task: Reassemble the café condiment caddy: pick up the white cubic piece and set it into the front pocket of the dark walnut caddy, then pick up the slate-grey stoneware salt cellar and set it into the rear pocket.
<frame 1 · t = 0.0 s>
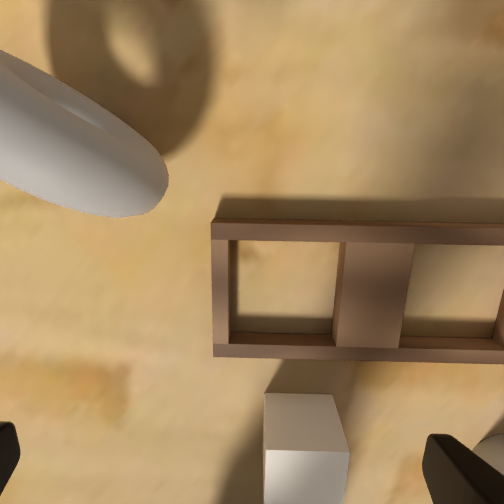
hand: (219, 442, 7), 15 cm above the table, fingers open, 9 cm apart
donut: (113, 141, 20), on the table
white cubic piece: (296, 420, 25), on the table
walnut caddy: (366, 288, 22), on the table
salt cellar: (500, 458, 26), on the table
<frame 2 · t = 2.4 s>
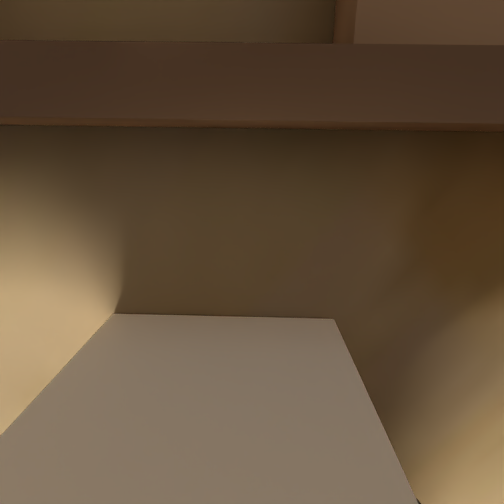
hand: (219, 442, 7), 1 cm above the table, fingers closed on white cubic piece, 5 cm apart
white cubic piece: (223, 407, 8), on the table, touching gripper
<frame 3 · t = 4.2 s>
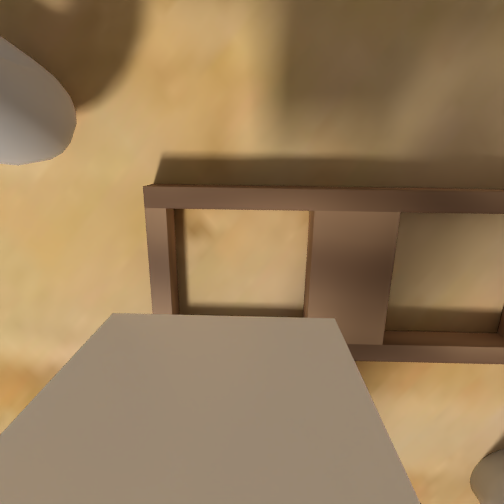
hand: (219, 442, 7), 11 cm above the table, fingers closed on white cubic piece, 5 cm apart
donut: (23, 86, 16), on the table
white cubic piece: (224, 407, 8), point 10 cm above the table, touching gripper
walnut caddy: (343, 271, 18), on the table
when the fingers open (3 cm above the table, at t = 6.0 s): white cubic piece drops 2 cm, resting in walnut caddy.
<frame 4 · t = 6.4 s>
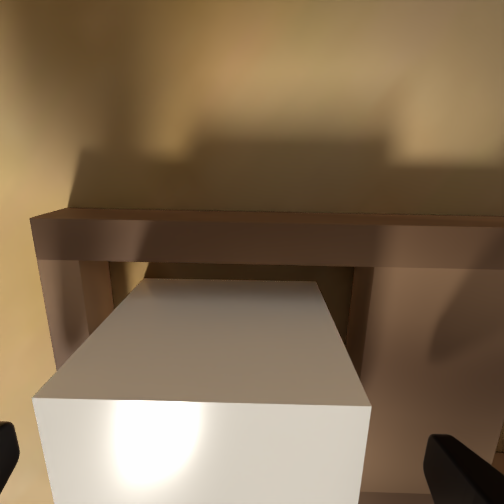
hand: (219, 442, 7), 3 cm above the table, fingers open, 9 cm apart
white cubic piece: (230, 353, 10), resting in walnut caddy
walnut caddy: (409, 359, 10), on the table
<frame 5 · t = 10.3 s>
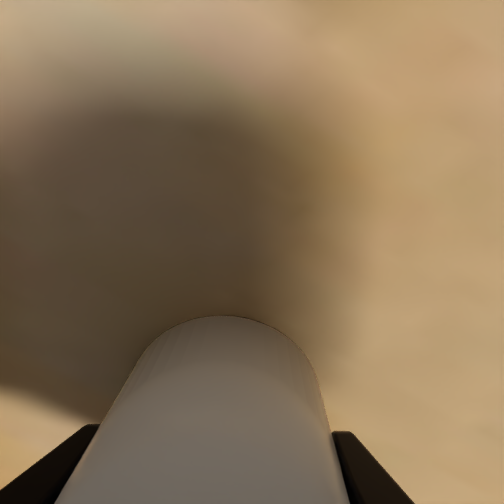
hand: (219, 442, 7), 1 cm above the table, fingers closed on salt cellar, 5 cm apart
salt cellar: (225, 401, 8), on the table, touching gripper
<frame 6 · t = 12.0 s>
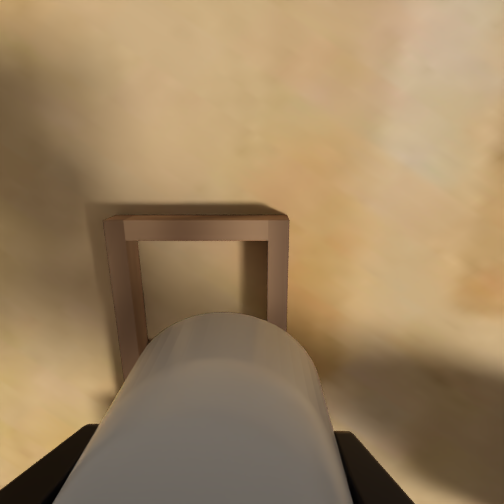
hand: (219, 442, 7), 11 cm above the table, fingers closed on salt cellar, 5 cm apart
walnut caddy: (208, 378, 20), on the table
salt cellar: (226, 398, 8), point 10 cm above the table, touching gripper
when the fingers open (3 cm above the table, at t = 14.1 s): salt cellar drops 2 cm, resting in walnut caddy.
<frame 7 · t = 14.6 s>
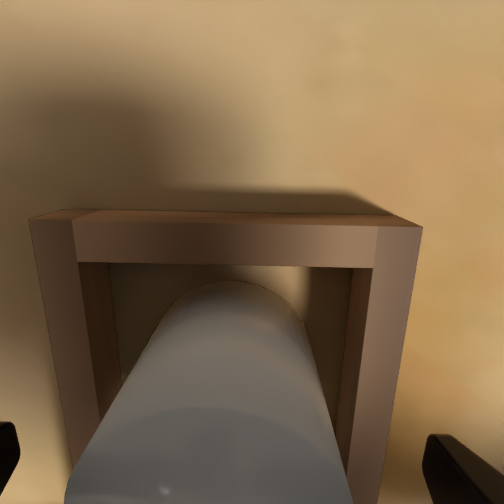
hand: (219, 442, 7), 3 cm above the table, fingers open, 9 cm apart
walnut caddy: (230, 489, 12), on the table
salt cellar: (232, 352, 10), resting in walnut caddy
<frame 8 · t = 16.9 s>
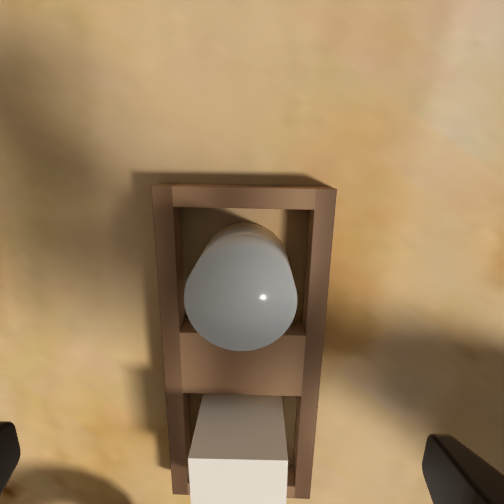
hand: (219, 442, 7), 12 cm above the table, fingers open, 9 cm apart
white cubic piece: (242, 421, 22), resting in walnut caddy
walnut caddy: (243, 350, 20), on the table
salt cellar: (245, 263, 19), resting in walnut caddy
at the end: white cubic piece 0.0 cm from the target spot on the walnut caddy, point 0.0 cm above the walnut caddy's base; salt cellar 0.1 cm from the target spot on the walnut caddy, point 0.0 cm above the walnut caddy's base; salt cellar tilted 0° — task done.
